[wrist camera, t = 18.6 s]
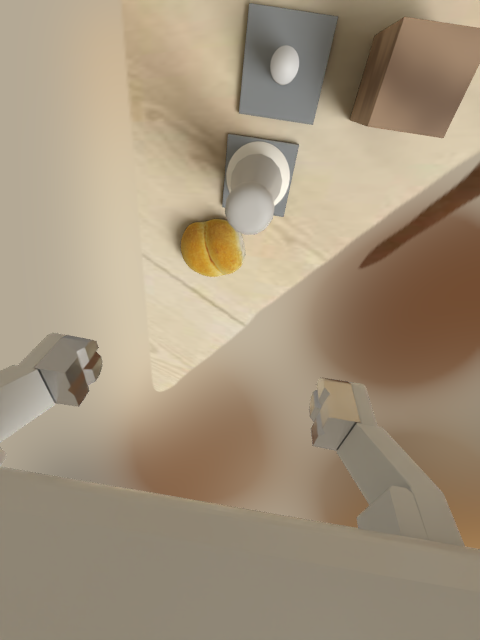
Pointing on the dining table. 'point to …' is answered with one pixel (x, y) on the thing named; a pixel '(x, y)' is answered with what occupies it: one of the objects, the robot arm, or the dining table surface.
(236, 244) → the bread roll
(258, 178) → the salt shaker
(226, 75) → the dining table surface
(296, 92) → the board
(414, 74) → the brown wooden block
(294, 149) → the board
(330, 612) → the robot arm
